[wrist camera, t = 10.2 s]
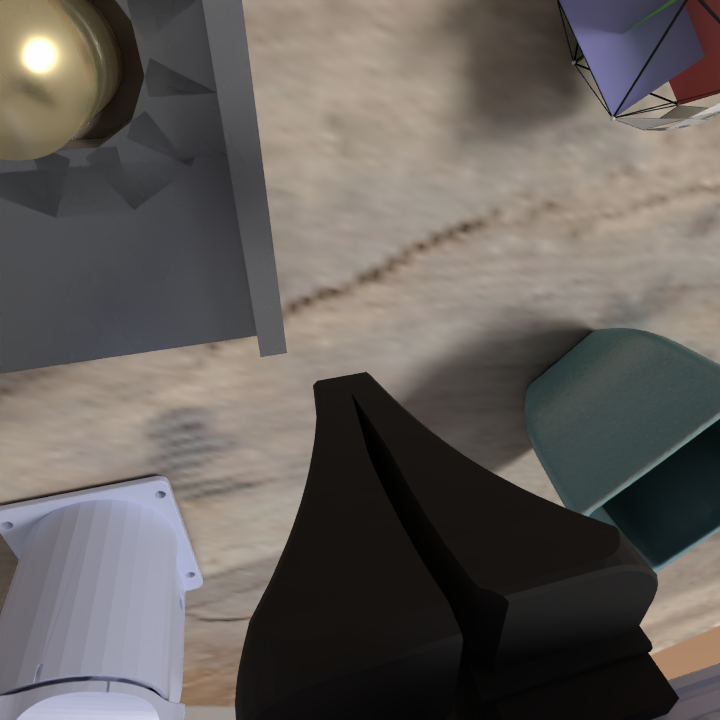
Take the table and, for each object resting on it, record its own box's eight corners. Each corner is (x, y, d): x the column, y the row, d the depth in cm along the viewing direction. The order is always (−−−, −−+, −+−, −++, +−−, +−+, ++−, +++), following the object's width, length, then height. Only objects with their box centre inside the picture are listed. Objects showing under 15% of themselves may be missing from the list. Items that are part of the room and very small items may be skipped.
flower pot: (477, 394, 28) (571, 526, 21) (607, 279, 26) (764, 383, 18) (552, 455, 33) (650, 580, 26) (667, 363, 30) (810, 472, 23)
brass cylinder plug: (135, 113, 17) (107, 154, 12) (15, 120, 16) (-66, 166, 11) (102, -24, 15) (51, -41, 10) (-37, -23, 14) (-164, -40, 9)
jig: (277, 313, 22) (286, 352, 19) (-2, 352, 20) (-32, 402, 17) (215, -153, 14) (217, -190, 11) (-273, -168, 12) (-407, -219, 9)
